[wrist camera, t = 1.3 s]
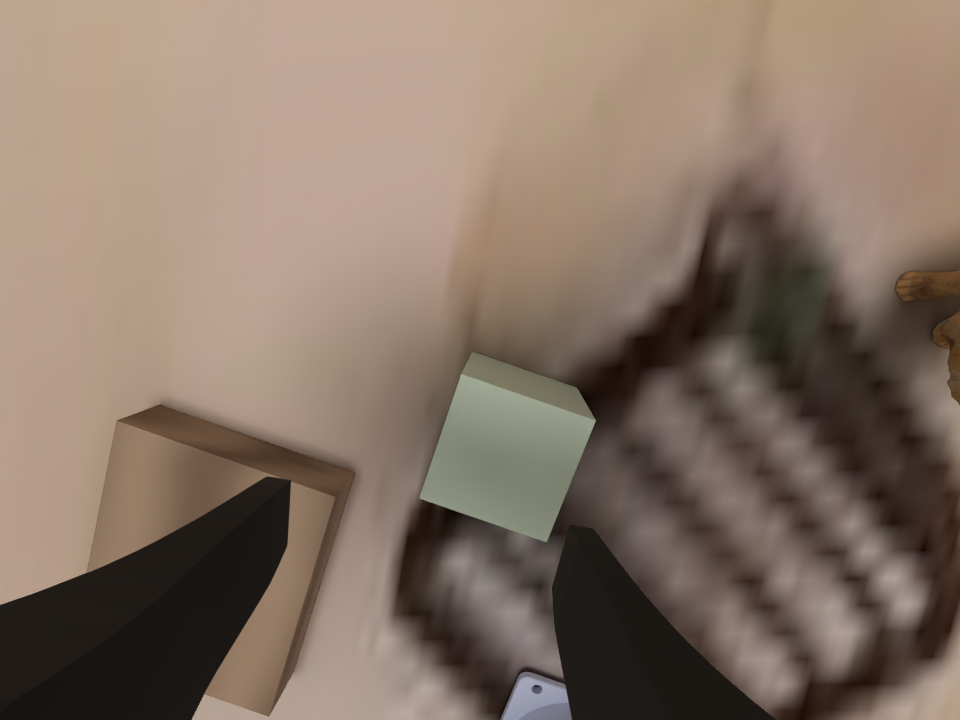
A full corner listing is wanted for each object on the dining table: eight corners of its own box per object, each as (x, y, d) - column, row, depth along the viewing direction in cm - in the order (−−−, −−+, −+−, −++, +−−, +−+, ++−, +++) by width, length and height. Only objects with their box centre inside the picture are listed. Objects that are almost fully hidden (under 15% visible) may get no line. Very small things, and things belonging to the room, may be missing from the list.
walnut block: (357, 469, 23) (335, 497, 20) (296, 665, 26) (269, 716, 23) (166, 402, 23) (116, 420, 20) (122, 604, 26) (71, 647, 23)
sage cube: (576, 387, 22) (595, 420, 17) (538, 483, 23) (546, 542, 18) (472, 351, 22) (461, 373, 17) (439, 449, 23) (419, 498, 18)
